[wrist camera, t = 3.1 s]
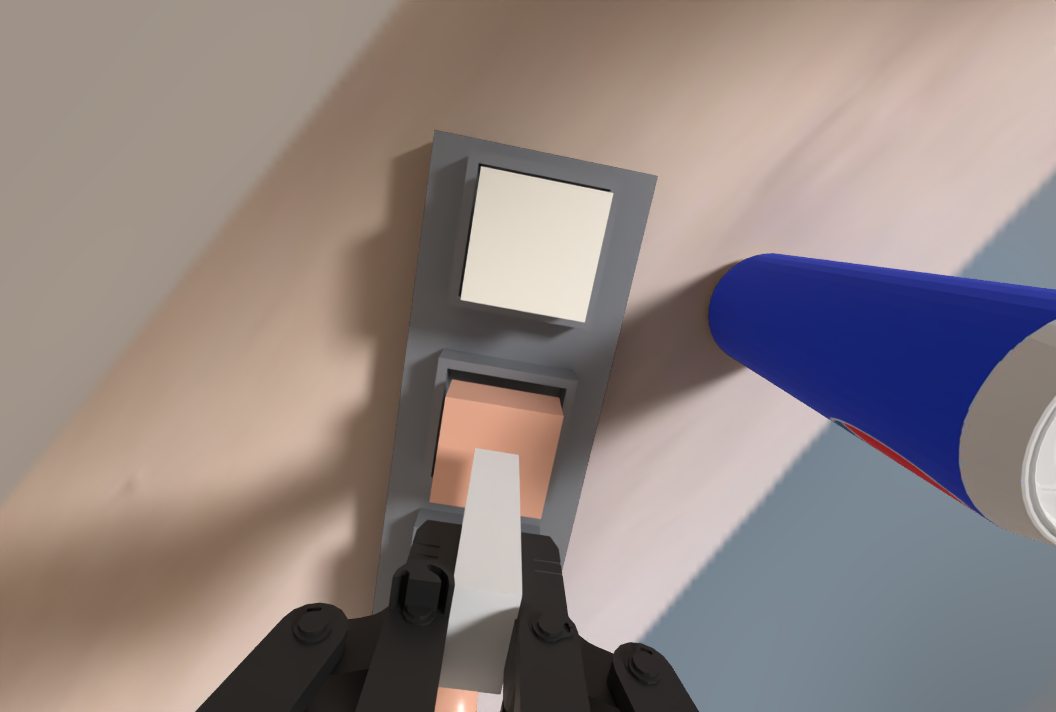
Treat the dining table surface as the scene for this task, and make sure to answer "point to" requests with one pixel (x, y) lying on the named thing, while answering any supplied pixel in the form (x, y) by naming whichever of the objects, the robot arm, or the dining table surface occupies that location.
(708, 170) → the dining table surface
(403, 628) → the robot arm
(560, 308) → the cream button
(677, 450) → the dining table surface
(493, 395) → the terracotta button
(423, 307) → the console
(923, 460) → the beverage can
